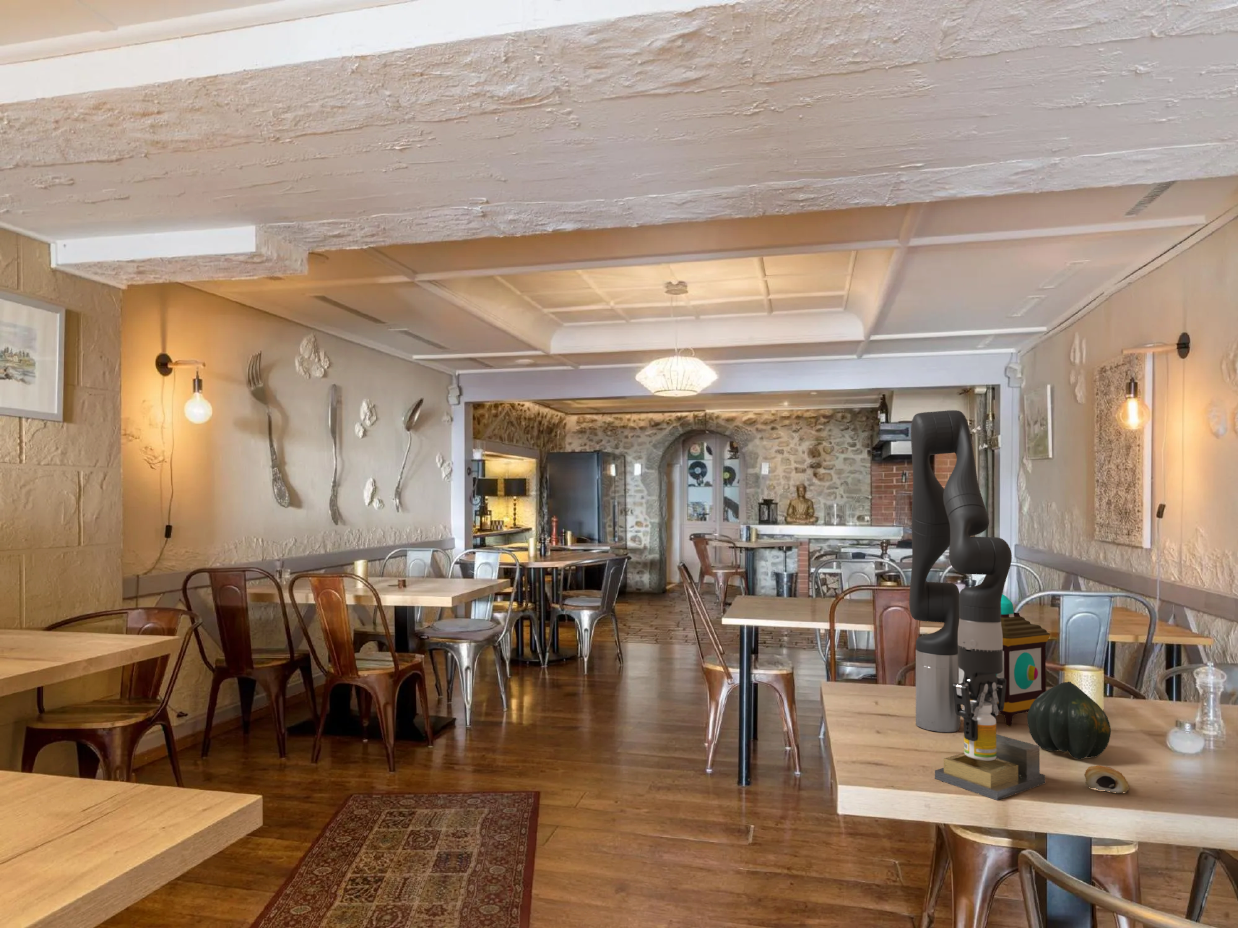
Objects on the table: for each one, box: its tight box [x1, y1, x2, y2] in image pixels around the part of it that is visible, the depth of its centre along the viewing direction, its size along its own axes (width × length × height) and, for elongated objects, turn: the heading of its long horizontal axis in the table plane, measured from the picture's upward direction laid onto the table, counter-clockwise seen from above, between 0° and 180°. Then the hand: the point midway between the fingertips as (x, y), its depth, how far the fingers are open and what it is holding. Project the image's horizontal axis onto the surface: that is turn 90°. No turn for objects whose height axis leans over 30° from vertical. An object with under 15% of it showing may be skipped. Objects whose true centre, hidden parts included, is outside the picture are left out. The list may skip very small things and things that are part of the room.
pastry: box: [1083, 764, 1130, 794], centre depth 139 cm, size 9×7×4 cm
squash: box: [1026, 680, 1112, 760], centre depth 158 cm, size 14×15×15 cm
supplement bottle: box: [963, 700, 997, 761], centre depth 139 cm, size 5×5×10 cm
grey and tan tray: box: [934, 733, 1046, 801], centre depth 140 cm, size 16×12×6 cm
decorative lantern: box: [959, 593, 1051, 728], centre depth 187 cm, size 20×20×30 cm
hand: (980, 736), depth 138 cm, fingers closed on supplement bottle, 5 cm apart
